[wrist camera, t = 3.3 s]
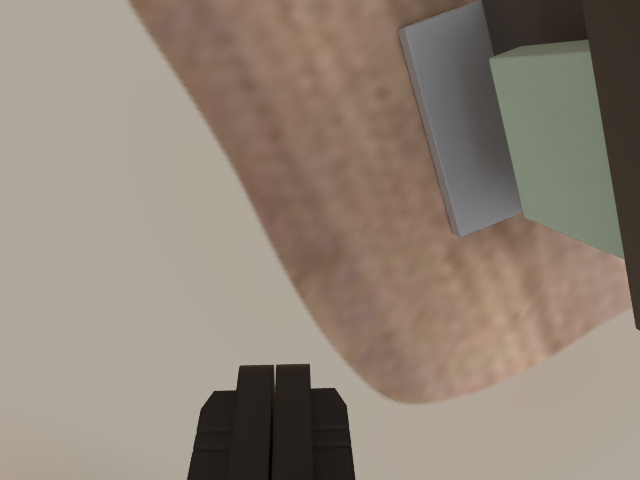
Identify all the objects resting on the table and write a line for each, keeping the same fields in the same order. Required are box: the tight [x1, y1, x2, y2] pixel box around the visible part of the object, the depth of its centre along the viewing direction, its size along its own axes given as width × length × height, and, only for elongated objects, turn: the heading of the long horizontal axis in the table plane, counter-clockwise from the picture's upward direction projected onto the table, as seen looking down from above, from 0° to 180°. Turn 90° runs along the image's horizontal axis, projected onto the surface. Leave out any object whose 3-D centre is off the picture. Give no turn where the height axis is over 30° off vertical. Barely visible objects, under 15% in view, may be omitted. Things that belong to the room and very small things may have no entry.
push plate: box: [489, 40, 625, 259], centre depth 21 cm, size 2×7×6 cm, turn 19°
